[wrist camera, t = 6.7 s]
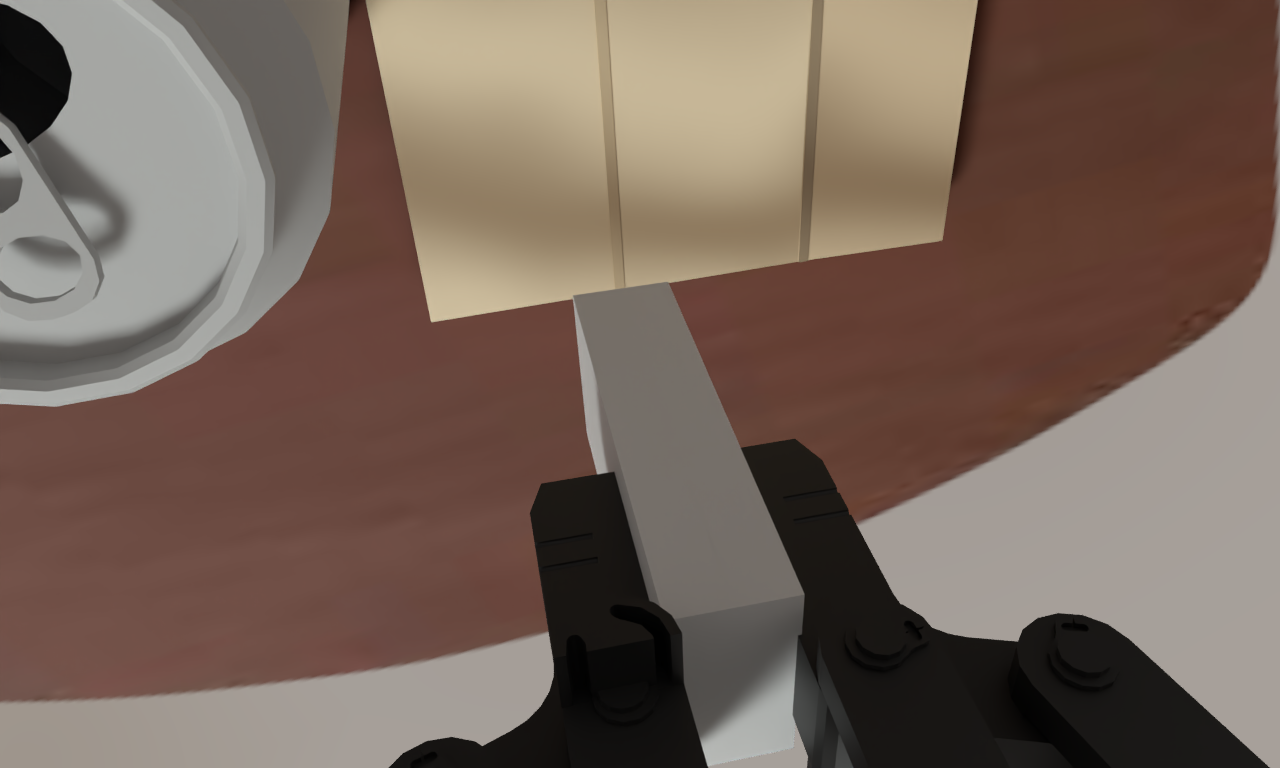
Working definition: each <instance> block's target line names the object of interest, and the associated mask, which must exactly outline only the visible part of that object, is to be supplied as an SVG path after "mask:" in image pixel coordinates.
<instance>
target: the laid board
mask: <svg viewBox="0 0 1280 768" xmlns="http://www.w3.org/2000/svg"><path fill="white" fill-rule="evenodd" d="M977 3H978V0H811V18H810V37H809V56H808V75H807V94H806V113H805V132H804V151H803V170H802V189H801V208H800V227H799V246H798V261H799V262H804V261H808V260H812V259H819V258H826V257H833V256H839V255H846V254H853V253H860V252H867V251H874V250H881V249H888V248H895V247H902V246H908V245H915V244H922V243H929V242H936V241H942V239H943V232H944V225H945V218H946V212H947V205H948V198H949V191H950V185H951V178H952V171H953V164H954V158H955V151H956V144H957V137H958V131H959V124H960V117H961V111H962V104H963V97H964V90H965V84H966V77H967V70H968V63H969V57H970V50H971V43H972V36H973V30H974V23H975V16H976V9H977Z"/></svg>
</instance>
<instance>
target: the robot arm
mask: <svg viewBox="0 0 1280 768" xmlns="http://www.w3.org/2000/svg"><path fill="white" fill-rule="evenodd" d="M573 302H574V312H575V322H576V331H577V341H578V351H579V361H580V370H581V380H582V390H583V399H584V409H585V419H586V429H587V435H588V439H589V443H590V447H591V451H592V455H593V459H594V463H595V467H596V471H597V475H591V476H585V477H579V478H573V479H567V480H561V481H555V482H549V483H543V484H541V486H540V488H539V491H538V493H537V496H536V499H535V501H534V504H533V506H532V509H531V512H530V516H531V522H532V529H533V535H534V542H535V548H536V555H537V561H538V567H539V574H540V580H541V587H542V593H543V599H544V605H545V612H546V618H547V624H548V630H549V637H550V643H551V649H552V655H553V662H554V678H553V681H552V685H551V688H550V692H549V693H548V695H547V697H546V699H545V700H544V702H543V703H542V705H541V707H540V708H539V709H538V710H537V711H536V712H535V713H534V714H533V715H532V716H531V717H530V718H529V719H528V720H527V721H525V722H524V723H523V724H521V725H520V726H518V727H516V728H515V729H513V730H512V731H510V732H508V733H506V734H505V735H503V736H501V737H499V738H497V739H495V740H493V741H491V742H489V743H487V744H486V745H484V746H481V745H480V744H478V743H477V742H474V741H469V740H464V739H459V738H454V737H449V738H443V739H437V740H432V741H426V742H424V743H422V744H420V745H419V746H416V747H415V748H413V749H411V750H409V751H407V752H405V753H403V754H402V755H401V756H400V757H399V758H398V759H397V760H396V761H395V762H394V763H393V764H392V765H391V766H390V767H389V768H708V766H711V765H716V764H721V763H726V762H731V761H735V760H740V759H745V758H750V757H755V756H759V755H764V754H769V753H773V752H778V751H783V750H788V749H792V748H794V736H795V723H796V725H797V728H798V731H799V733H800V736H801V739H802V741H803V744H804V747H805V750H806V752H807V755H808V764H807V768H1269V767H1268V766H1267V765H1266V764H1265V763H1264V762H1263V761H1262V760H1261V759H1260V758H1258V757H1257V756H1256V755H1255V754H1254V753H1253V752H1252V751H1251V750H1250V749H1249V748H1247V747H1246V746H1245V745H1244V744H1243V743H1242V742H1241V741H1240V740H1239V739H1238V738H1237V737H1235V736H1234V735H1233V734H1232V733H1231V732H1230V731H1229V730H1228V729H1227V728H1226V727H1225V726H1223V725H1222V724H1221V723H1220V722H1219V721H1218V720H1217V719H1216V718H1215V717H1214V716H1212V715H1211V714H1210V713H1209V712H1208V711H1207V710H1206V709H1205V708H1204V707H1203V706H1202V705H1200V704H1199V703H1198V702H1197V701H1196V700H1195V699H1194V698H1193V697H1192V696H1190V694H1188V693H1187V692H1186V691H1185V690H1184V689H1183V688H1182V687H1181V686H1180V685H1178V684H1177V683H1176V682H1175V681H1174V680H1173V679H1172V678H1171V677H1170V676H1169V675H1168V674H1167V673H1165V672H1164V671H1163V670H1162V669H1161V668H1160V667H1159V666H1158V665H1157V664H1156V663H1154V662H1153V661H1152V660H1151V659H1150V658H1149V657H1148V656H1147V655H1146V654H1145V653H1144V652H1142V651H1141V650H1140V649H1139V648H1138V647H1137V646H1136V645H1135V644H1134V643H1132V641H1130V640H1129V639H1128V638H1127V637H1125V636H1123V635H1122V634H1121V633H1119V632H1118V631H1116V630H1115V629H1114V628H1112V627H1111V626H1109V625H1108V624H1105V623H1103V622H1100V621H1097V620H1094V619H1092V618H1089V617H1086V616H1083V615H1073V614H1060V613H1057V614H1053V615H1049V616H1045V617H1041V618H1037V619H1036V620H1035V621H1033V622H1032V623H1031V624H1029V625H1028V626H1027V627H1026V628H1024V629H1023V630H1022V633H1021V635H1020V638H1019V641H1018V642H1015V641H1004V640H991V639H981V638H969V637H963V636H957V635H952V634H947V633H945V632H942V631H940V630H936V629H934V628H932V627H931V626H930V625H929V624H928V623H927V621H926V620H925V619H924V618H923V617H922V616H920V615H919V614H917V613H916V612H914V611H912V610H911V609H909V608H907V607H906V606H904V605H901V604H900V603H899V601H898V600H897V599H896V597H895V596H894V594H893V593H892V591H891V589H890V587H889V585H888V583H887V581H886V579H885V578H884V576H883V574H882V572H881V570H880V568H879V566H878V565H877V563H876V561H875V559H874V557H873V555H872V553H871V551H870V549H869V548H868V546H867V544H866V542H865V540H864V538H863V536H862V534H861V532H860V531H859V529H858V527H857V525H856V523H855V521H854V519H853V517H852V515H849V512H848V508H847V506H846V504H845V502H844V500H843V499H842V497H841V495H840V493H838V492H837V487H836V485H835V483H834V482H833V480H832V478H831V476H830V474H829V472H828V470H827V468H826V467H825V465H824V463H823V461H822V460H821V459H820V458H819V457H817V456H816V455H815V454H814V453H812V452H811V451H810V450H809V449H807V448H806V447H805V446H804V445H802V444H801V443H800V442H798V441H797V440H796V439H791V440H785V441H779V442H773V443H767V444H761V445H755V446H749V447H743V448H740V446H739V443H738V441H737V439H736V436H735V434H734V432H733V430H732V427H731V425H730V423H729V420H728V418H727V416H726V414H725V411H724V409H723V407H722V404H721V402H720V400H719V398H718V395H717V393H716V391H715V388H714V386H713V384H712V382H711V379H710V377H709V375H708V372H707V370H706V368H705V366H704V363H703V361H702V359H701V356H700V354H699V352H698V350H697V347H696V345H695V343H694V340H693V338H692V336H691V334H690V331H689V329H688V327H687V324H686V322H685V320H684V317H683V315H682V313H681V311H680V308H679V306H678V304H677V301H676V299H675V297H674V295H673V292H672V290H671V288H670V285H669V283H668V282H662V283H655V284H648V285H641V286H634V287H628V288H621V289H614V290H607V291H600V292H593V293H586V294H579V295H573Z"/></svg>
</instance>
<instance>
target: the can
mask: <svg viewBox="0 0 1280 768" xmlns="http://www.w3.org/2000/svg"><path fill="white" fill-rule="evenodd" d="M349 1H350V0H0V404H18V405H36V406H55V407H56V406H61V405H67V404H72V403H78V402H83V401H89V400H94V399H100V398H105V397H111V396H116V395H122V394H127V393H133V392H135V391H137V390H139V389H141V388H143V387H145V386H147V385H149V384H152V383H154V382H156V381H158V380H160V379H162V378H164V377H166V376H168V375H170V374H172V373H174V372H176V371H178V370H180V369H182V368H184V367H186V366H188V365H190V364H192V363H194V362H196V361H198V360H199V359H200V358H201V357H202V356H203V355H204V354H205V353H206V352H207V351H209V350H211V349H213V348H215V347H217V346H219V345H221V344H223V343H225V342H227V341H229V340H231V339H233V338H235V337H237V336H239V335H241V334H243V333H245V332H247V331H248V330H249V329H250V328H251V327H252V326H253V325H254V324H255V323H256V322H257V321H258V320H259V319H260V318H261V317H262V316H263V315H264V314H265V313H266V312H267V311H268V310H269V309H270V308H271V307H272V306H273V305H274V304H275V303H276V302H277V301H278V300H279V299H280V298H281V297H282V296H283V295H284V294H285V293H286V292H287V291H288V290H289V289H290V288H291V287H292V286H293V285H294V284H295V283H296V282H297V281H298V280H299V278H300V276H301V274H302V272H303V270H304V267H305V265H306V263H307V261H308V259H309V256H310V254H311V252H312V250H313V248H314V245H315V243H316V241H317V239H318V237H319V234H320V232H321V230H322V228H323V226H324V223H325V221H326V219H327V217H328V215H329V213H330V205H331V194H332V184H333V173H334V163H335V152H336V142H337V131H338V120H339V110H340V99H341V89H342V78H343V68H344V57H345V47H346V36H347V25H348V15H349Z"/></svg>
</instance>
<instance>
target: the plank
mask: <svg viewBox="0 0 1280 768" xmlns="http://www.w3.org/2000/svg"><path fill="white" fill-rule="evenodd" d="M366 5H367V10H368V14H369V19H370V24H371V29H372V34H373V39H374V44H375V49H376V54H377V59H378V63H379V68H380V73H381V78H382V83H383V88H384V93H385V98H386V103H387V108H388V112H389V117H390V122H391V127H392V132H393V137H394V142H395V147H396V152H397V157H398V161H399V166H400V171H401V176H402V181H403V186H404V191H405V196H406V201H407V206H408V210H409V215H410V220H411V225H412V230H413V235H414V240H415V245H416V250H417V255H418V260H419V264H420V269H421V274H422V279H423V284H424V289H425V294H426V299H427V304H428V309H429V313H430V318H431V322H436V321H442V320H448V319H454V318H460V317H466V316H472V315H478V314H484V313H490V312H496V311H502V310H508V309H514V308H520V307H526V306H532V305H538V304H544V303H550V302H557V301H563V300H569V299H573V295H579V294H586V293H593V292H600V291H607V290H614V289H621V288H628V287H634V286H641V285H648V284H655V283H662V282H668V283H671V282H677V281H683V280H689V279H695V278H701V277H707V276H713V275H719V274H726V273H732V272H738V271H744V270H750V269H756V268H762V267H768V266H774V265H780V264H786V263H792V262H798V246H799V227H800V208H801V189H802V170H803V151H804V132H805V113H806V94H807V75H808V56H809V37H810V18H811V0H366Z"/></svg>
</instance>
